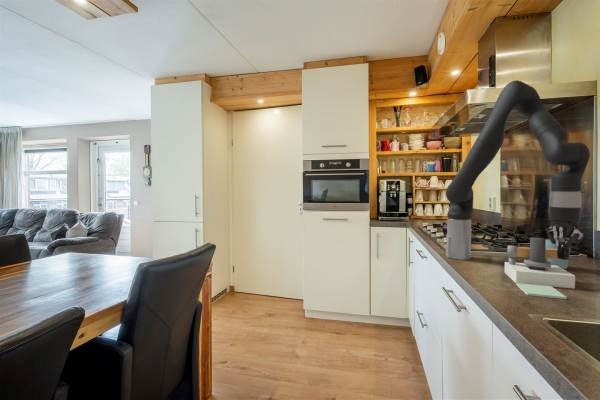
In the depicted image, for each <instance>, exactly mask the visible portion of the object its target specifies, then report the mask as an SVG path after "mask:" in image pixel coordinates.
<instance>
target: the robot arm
mask: <svg viewBox="0 0 600 400" xmlns="http://www.w3.org/2000/svg"><path fill="white" fill-rule="evenodd" d="M512 110H514V111H518V112H519V113H520V114H522V115H523V116H524V117H525V118H526V120H527V121H528V123H529V129H530V131H531V132H532V133H533V135H534V136H535V138H536V139H537V141H539V143H540V144H541V145H540V146H541V149H542V152H543V156H544V158H545V160H546V161H547V162H548V163H550V164H551V165H554V166H564V168H563V170H561V172H558V173H554V174H553V175H552V176H551V182H550V183H551V184H550V196H549V203H548V204H549V208H548V219H549V220H551V223H550V226H549V227H545V228H544V230H545V232H546V234H547V237H548V239H550V241H551V243H552V244H555V245H556V247H557V256H558V258H559V259H562V260H568V258H569V259H570V254H569V249H570V248H571V249H572V248H577V247H578V245H579V244H580V243H581V242H582V241H583V240H584V239H585V237H586V233H584V232H581V231H580V230H579V228H580V227H579V224H578V222H581V220H582V202H583V201H582V178H583V176H584V173H585V171H586V168H587V166H588V163H589V160H590V157H591V153H590V149H589V147H588V145H586V144H585V143H583V142H564V141H565V140H567V137H568V133H567V131H566V130H565V128H564V127H563V126H562V125H561V124H560V122H558V120H557V119H556V118H555V117H554V116H553V115H552V114H551V113H550V112H549V111H548V110H547V108H546V106H545V105H544V103H543V101H542V99H541V97H540V95H539V93H538V92H537V90H536V88H534V86H531V85H529V84H527V83H525V82H523V81H521V80H512V81H510V82H508V83H507V84H506V85H505V86H504V88H503V89H502V90H501V92H500V93H499V95H498V96H497V99H496V101H495V104H494V106H493V107H492V109H491V113H490V114H489V117H488V119H487V120H486V122H485V124H484V126H483V127H482V129H481V131H480V133H479V135H478V136H477V138H476V140H475V141H474V143H473V145H472V147H470V148H471V149H470V150H469V152H468V154H467V156H466V158H465V159H464V162H463V163H462V165H461V167H460V170H458V172H457V174H456V175H455V177H454V178H453V180H451V182H450V183H449V184H448V186H447V187H446V190H445V197H446V199H447V200H448V202H449V208H448V211H447V214H446V215H447V216H446V217H447V218H446V219H447V221H446V222H447V224H446V225H447V226H446V227H447V229H446V230H447V231H446V236H445V239H446V243H445V245H446V247H445V255H446V257H447V258H448V259H454V260H464V261H465V260H466V261H467V260H471V257H472V256H471V255H472V252H471V251H472V214H473V210H474V190H473V187H474V184H475V182H476V180H477V179H478V177H479V176H480V175H481V173H483V172H484V170H485V169H486V168H487V167H488V166H489V165H490V164H491V162H492V161H493V160H494V159H495V158H496V156H497V154H498V152H499V151H500V150H501V148H502V145H503V143H504V139H505V130H506V129H505V128H506V122H507V119H508V117H509V115H510V113H511V112H512ZM571 249H570V250H571ZM568 261H569V260H568Z"/></svg>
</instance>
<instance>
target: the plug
mask: <svg viewBox="0 0 600 400" xmlns="http://www.w3.org/2000/svg"><path fill="white" fill-rule="evenodd" d="M546 239H547V238H543V237H530V238H529V248H530V257H529V258H524V259H523V263H524V264H526V265H529V269H531V270H543V271H545V268H549V267H551V262H549V261H547V260H546V258H545V249H546Z"/></svg>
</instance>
